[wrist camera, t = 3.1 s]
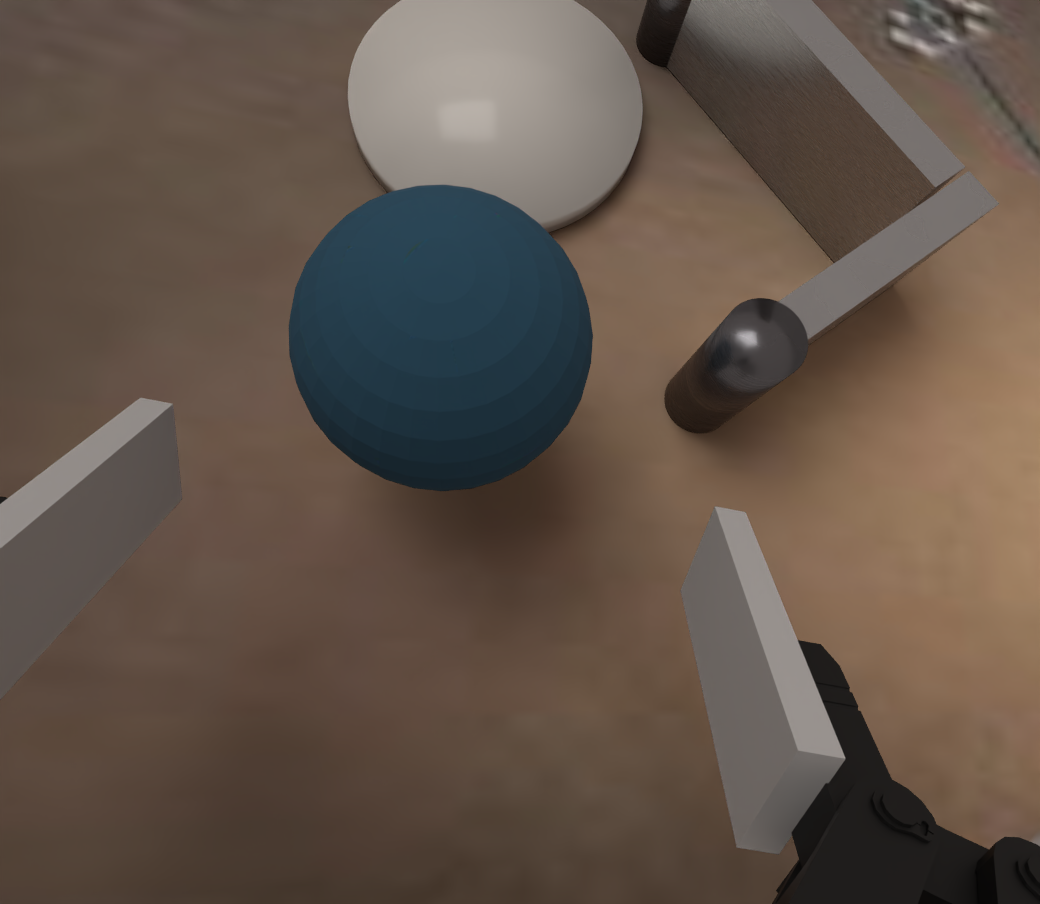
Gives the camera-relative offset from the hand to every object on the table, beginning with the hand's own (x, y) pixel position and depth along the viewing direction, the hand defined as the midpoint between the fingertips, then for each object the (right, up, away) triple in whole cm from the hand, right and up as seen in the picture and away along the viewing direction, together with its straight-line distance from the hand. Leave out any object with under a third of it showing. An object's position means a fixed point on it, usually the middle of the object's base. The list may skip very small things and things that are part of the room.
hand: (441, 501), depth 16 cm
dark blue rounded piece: (-1, +2, +10) cm, 11 cm away
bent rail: (+9, +12, +13) cm, 20 cm away
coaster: (+1, +17, +14) cm, 22 cm away
